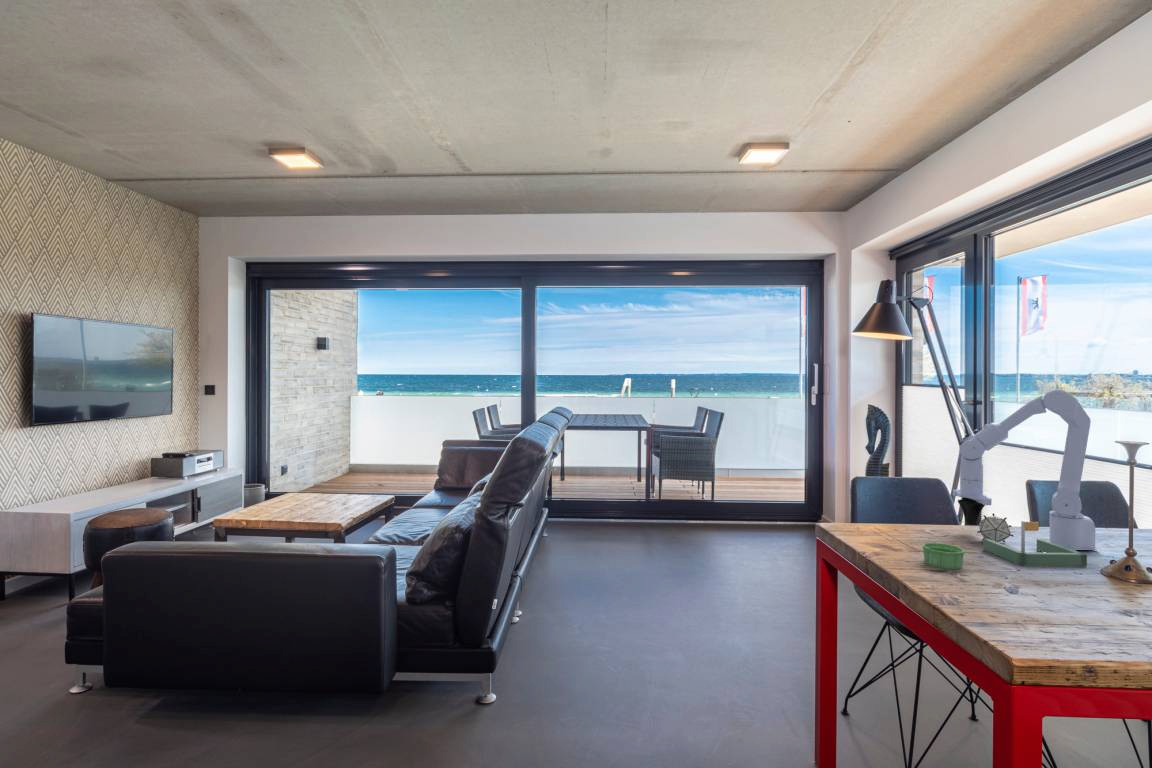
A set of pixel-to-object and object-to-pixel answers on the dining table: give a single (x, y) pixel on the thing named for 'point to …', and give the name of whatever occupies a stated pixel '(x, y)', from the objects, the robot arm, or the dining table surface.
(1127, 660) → the dining table surface
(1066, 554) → the green tray
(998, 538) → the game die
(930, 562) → the ramekin
